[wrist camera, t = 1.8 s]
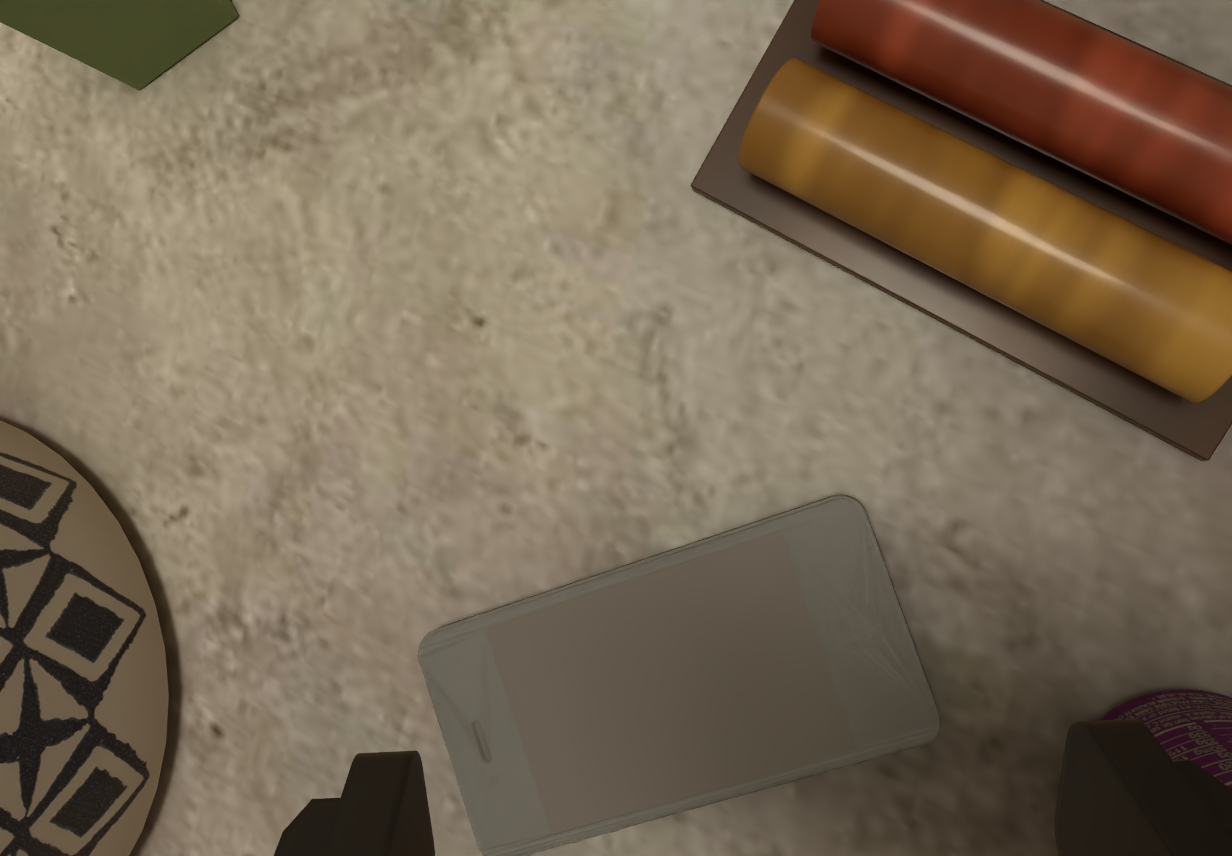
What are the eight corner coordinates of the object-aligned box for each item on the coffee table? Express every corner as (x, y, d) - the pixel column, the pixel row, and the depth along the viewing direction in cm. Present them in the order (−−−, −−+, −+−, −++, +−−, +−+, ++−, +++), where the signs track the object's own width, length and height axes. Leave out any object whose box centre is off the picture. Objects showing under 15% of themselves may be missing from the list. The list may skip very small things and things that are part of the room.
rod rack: (692, 190, 35) (670, 156, 31) (845, -81, 34) (842, -153, 30) (1202, 461, 31) (1253, 463, 27) (1390, 166, 30) (1471, 123, 26)
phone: (945, 731, 33) (949, 742, 32) (495, 857, 36) (482, 871, 35) (857, 487, 34) (856, 489, 33) (423, 632, 37) (408, 639, 36)
